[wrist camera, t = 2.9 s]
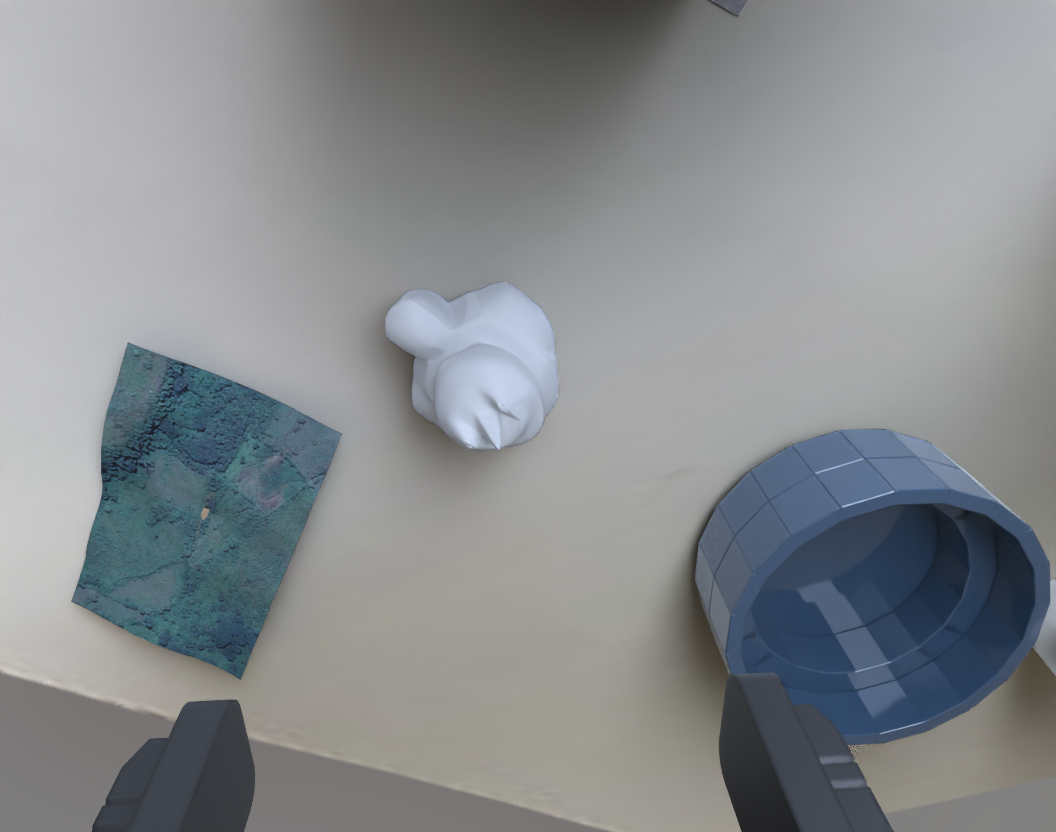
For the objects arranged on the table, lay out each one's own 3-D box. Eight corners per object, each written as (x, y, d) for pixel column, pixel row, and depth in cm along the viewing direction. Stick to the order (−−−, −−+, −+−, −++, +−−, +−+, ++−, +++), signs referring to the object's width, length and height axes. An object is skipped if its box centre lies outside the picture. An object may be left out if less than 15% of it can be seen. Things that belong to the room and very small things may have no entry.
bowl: (706, 426, 30) (747, 494, 25) (1001, 418, 31) (1095, 484, 26) (681, 658, 35) (711, 752, 31) (933, 649, 36) (1001, 739, 31)
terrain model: (253, 653, 34) (239, 684, 32) (73, 593, 32) (48, 622, 30) (352, 410, 29) (342, 432, 27) (147, 328, 27) (123, 345, 26)
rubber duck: (501, 435, 30) (506, 557, 23) (357, 338, 28) (313, 438, 21) (590, 330, 28) (627, 426, 21) (445, 219, 26) (429, 282, 19)
